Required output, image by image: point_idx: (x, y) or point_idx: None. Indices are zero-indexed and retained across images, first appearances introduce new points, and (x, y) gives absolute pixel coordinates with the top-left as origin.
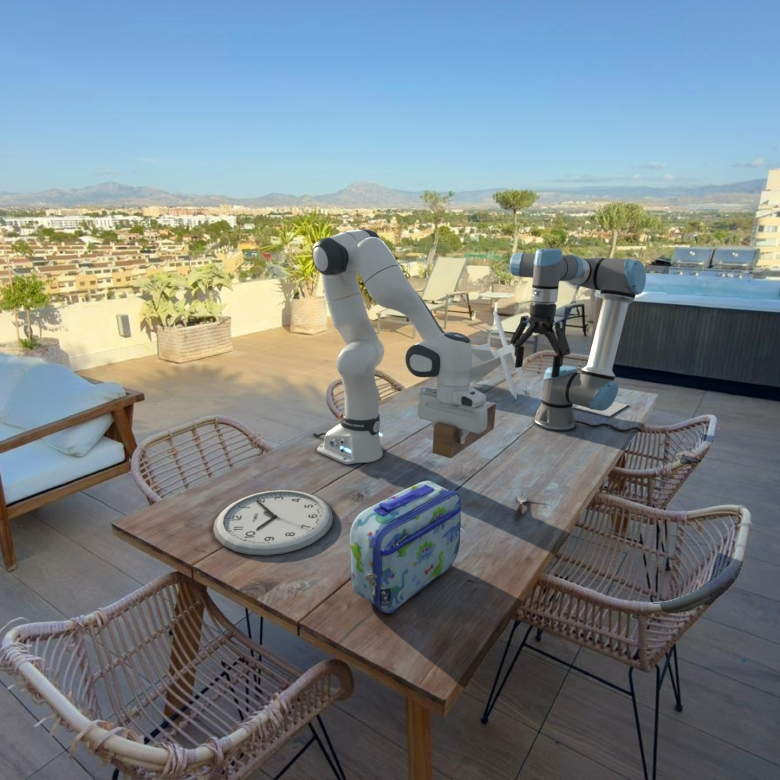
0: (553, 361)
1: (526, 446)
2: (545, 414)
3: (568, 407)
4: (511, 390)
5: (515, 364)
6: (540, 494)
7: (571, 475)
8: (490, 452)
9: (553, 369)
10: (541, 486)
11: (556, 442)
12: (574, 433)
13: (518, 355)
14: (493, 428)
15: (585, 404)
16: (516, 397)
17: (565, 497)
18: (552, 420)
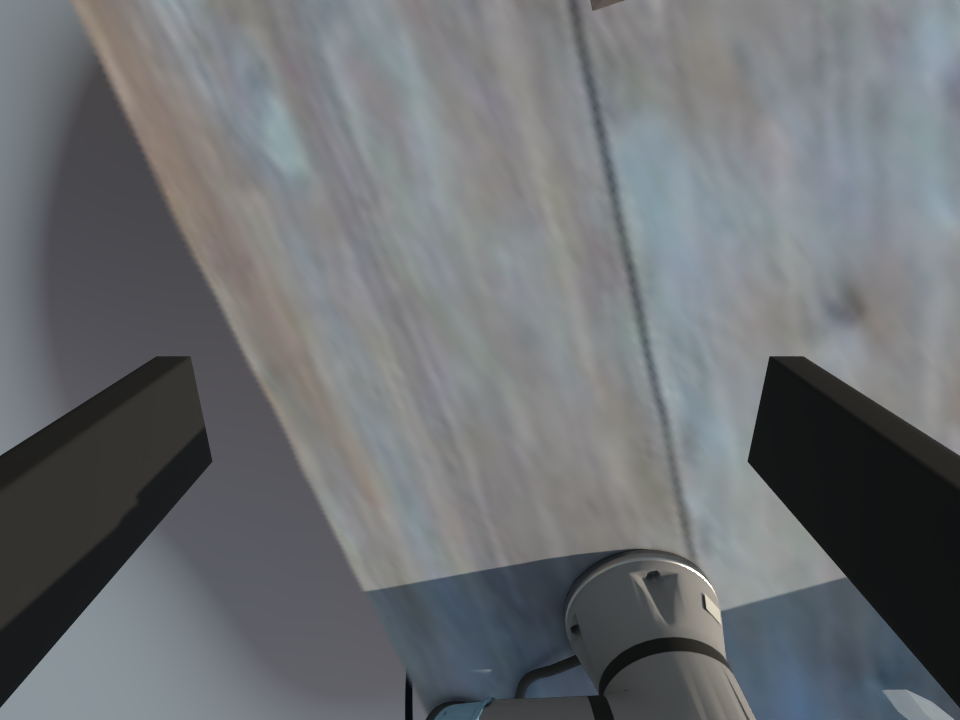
0: (10, 482)
1: (585, 365)
2: (665, 602)
3: (600, 680)
4: (929, 709)
5: (825, 373)
6: (251, 22)
7: (307, 284)
8: (652, 189)
9: (96, 403)
10: (301, 94)
11: (531, 483)
12: (538, 592)
13: (896, 462)
14: (591, 2)
15: (508, 703)
16: (890, 700)
17: (185, 94)
18: (623, 589)
